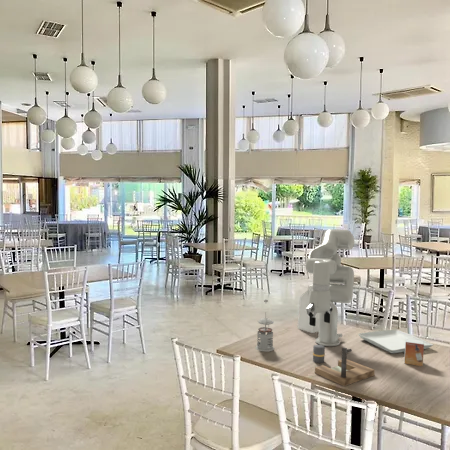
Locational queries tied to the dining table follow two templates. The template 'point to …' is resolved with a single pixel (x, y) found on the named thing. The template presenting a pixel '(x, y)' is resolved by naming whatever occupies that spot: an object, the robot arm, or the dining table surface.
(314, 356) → the grey cylinder
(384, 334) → the square plate
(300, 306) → the milk
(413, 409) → the dining table surface
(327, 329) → the robot arm
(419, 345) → the small box
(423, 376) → the dining table surface
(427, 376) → the dining table surface
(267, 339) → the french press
